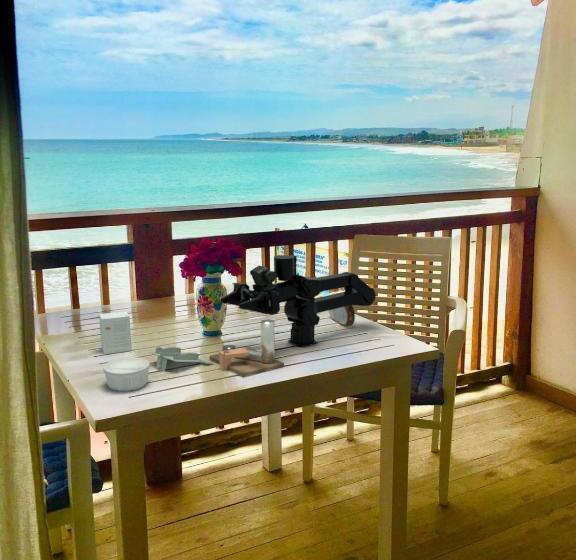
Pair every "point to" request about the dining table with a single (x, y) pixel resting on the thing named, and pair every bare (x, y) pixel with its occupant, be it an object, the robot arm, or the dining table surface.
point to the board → (248, 365)
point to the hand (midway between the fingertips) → (229, 303)
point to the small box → (115, 332)
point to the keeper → (230, 356)
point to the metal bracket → (175, 357)
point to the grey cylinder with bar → (262, 344)
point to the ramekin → (127, 373)
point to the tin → (343, 315)
